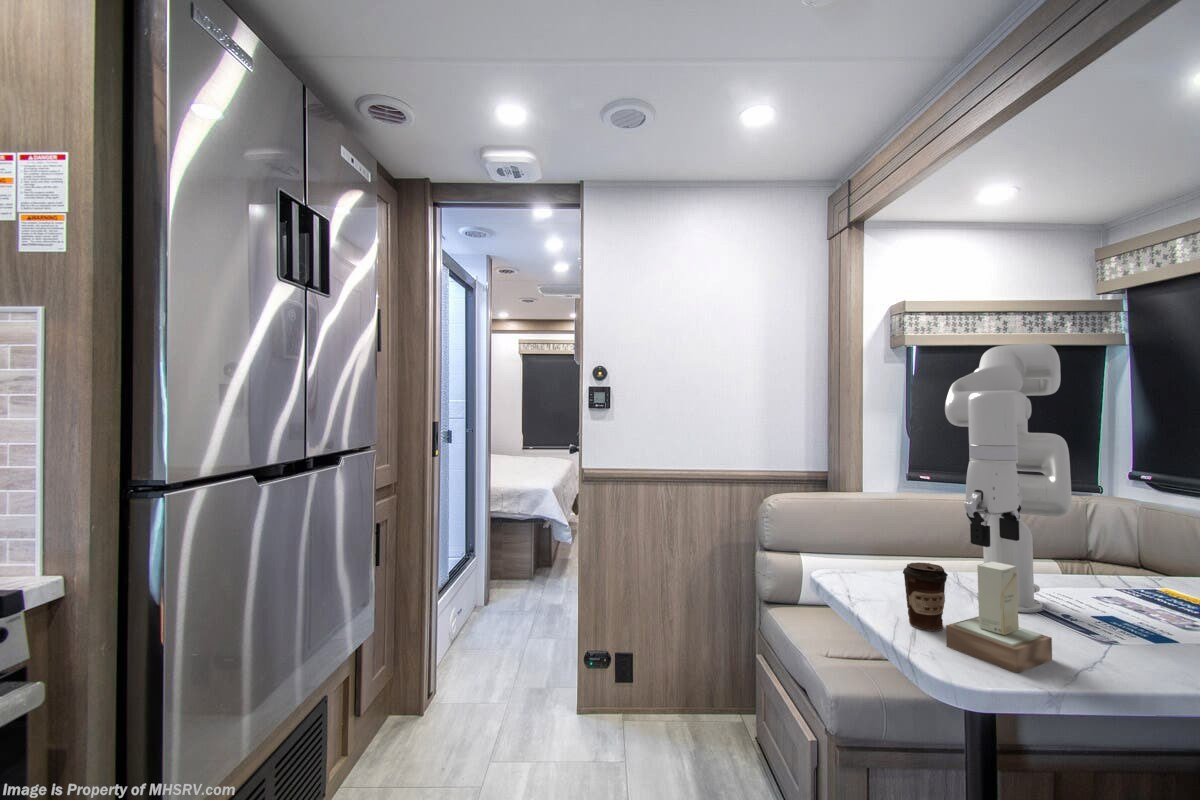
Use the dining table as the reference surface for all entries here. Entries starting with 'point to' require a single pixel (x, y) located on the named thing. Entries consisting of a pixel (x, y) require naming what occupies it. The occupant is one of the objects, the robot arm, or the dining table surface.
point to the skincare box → (998, 597)
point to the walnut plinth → (1000, 645)
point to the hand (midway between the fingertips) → (995, 542)
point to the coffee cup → (925, 595)
